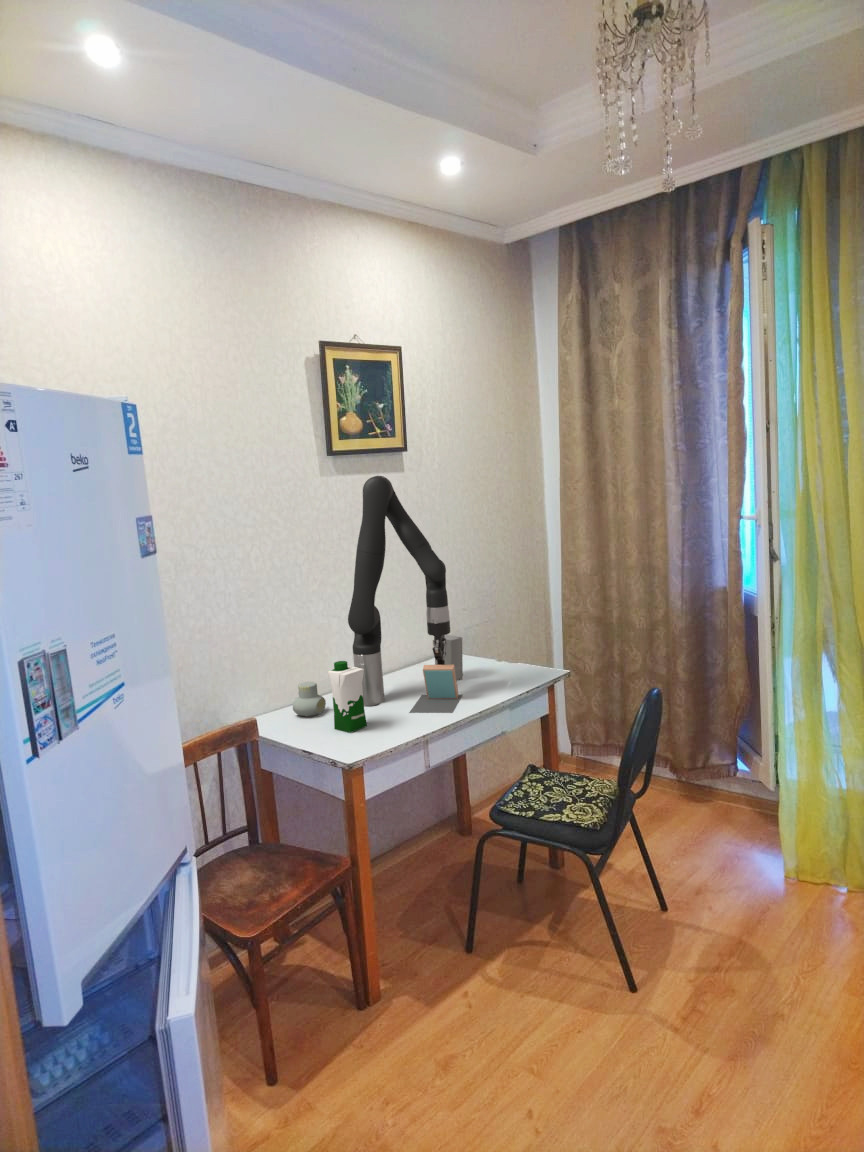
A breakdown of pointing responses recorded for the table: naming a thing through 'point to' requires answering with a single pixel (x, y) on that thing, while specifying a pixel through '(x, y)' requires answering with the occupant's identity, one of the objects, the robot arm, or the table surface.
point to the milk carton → (347, 697)
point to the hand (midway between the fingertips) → (441, 670)
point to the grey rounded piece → (308, 700)
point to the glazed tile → (440, 681)
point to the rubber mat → (435, 705)
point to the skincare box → (454, 654)
